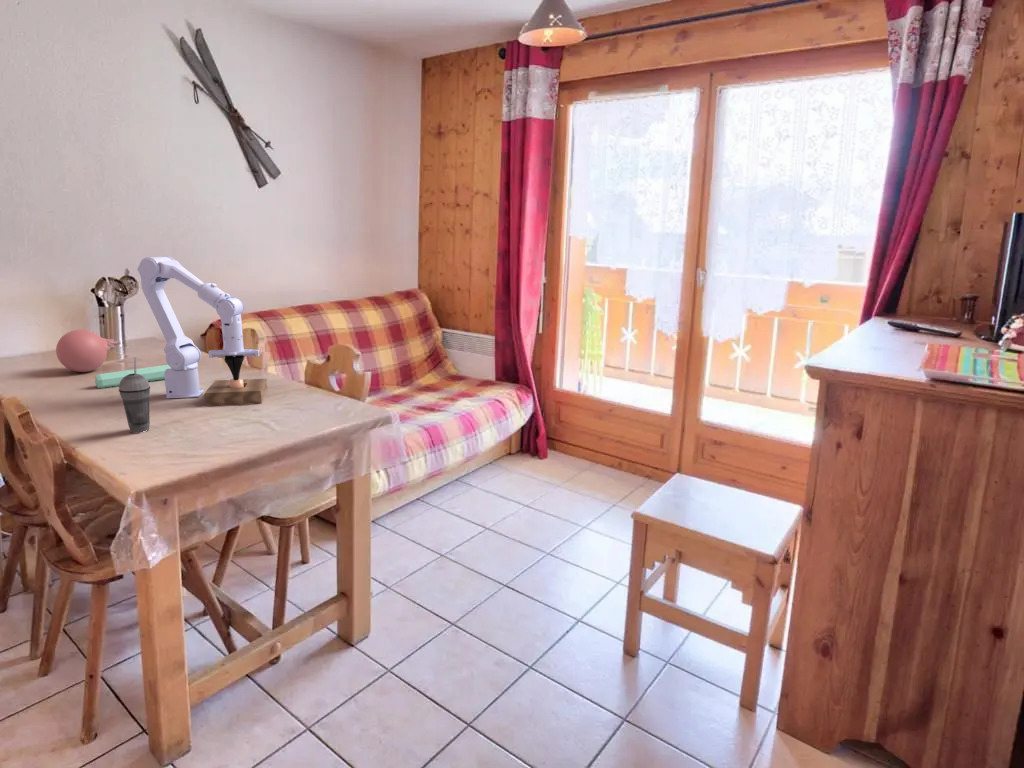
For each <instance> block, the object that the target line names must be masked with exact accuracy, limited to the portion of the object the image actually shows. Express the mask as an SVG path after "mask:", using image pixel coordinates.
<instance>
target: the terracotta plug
mask: <svg viewBox="0 0 1024 768" xmlns="http://www.w3.org/2000/svg"><path fill="white" fill-rule="evenodd" d="M243 379H244V378H242V377H241V378H240V377H239V379H238V380H234V379H233V378H231V379H229V380H230V388H239V387H244V383H243Z"/></svg>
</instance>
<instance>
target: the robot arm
mask: <svg viewBox="0 0 1024 768" xmlns="http://www.w3.org/2000/svg"><path fill="white" fill-rule="evenodd" d="M136 270H137V272H138V274H139V276H140V282H141V284H140V285H141V290H142V293H143V294H144V297H145V299H146V301H147V303H148V305H149V307H150V309H151V312H152V314H153V315H154V317H155V319H156V322H157V324H158V326H159V328H160V330H161V333H162V335H163V336H164V340H165V342H166V343H165V346H164V348H163V351H164V353H165V360H166V365H169V366H170V367H171V369H166V370H165V379H164V385H165V392H166V396H165V398H166V399H182V398H183V399H184V398H187V399H188V398H199V397H200V396H201V395H202V394H203V392H204V391H205V390H204V389H201V388H200V378H199V369H198V367H199V362H200V361H201V359H202V352H201V350H200V349H199V347H197V345H195V343H194V342H193V340H192V339H191V338H190V337H188V336H186V335H185V333H184V331H183V329H182V327H181V325H180V322H179V319H178V318H177V316H176V314H175V312H174V309H173V306H172V304H171V303H170V301H169V299H168V296H167V294H166V292H165V290H164V288H165V286H166V285H167V283H168V281H170V279H175V280H176V281H179V282H180V283H182V284H183V285H185V286H187V287H188V288H190V289H192V290H193V291H195V292H196V293H197V297H198V298H199V299H200V300H201V301H203V302H205V303H206V304H208V305H209V306H211V307H212V308H214V309H215V311H216V313H217V315H218V316H219V317H220V322H221V332H222V342H223V349H217V350H214V349H213V350H209V351H208V358H209V359H211V358H212V359H213V358H224V363H226V365H227V366H228V368H229V371H230V372H231V375H232V377H233V378H232V379H234V380H238V379H239V378H240V374H241V368H242V366H243V362H244V360H245V358H246V357H260V349H255V348H254V349H253V348H251V349H248V348H247V349H246V348H244V337H243V336H244V334H243V325H242V324H243V323H242V321H243V320H242V313H243V312H244V311H245V305H244V302H243V300H241V299H240V298H239V297H238V296H231V294H229V293H228V292H224V291H223V290H222V289H220V288H219V287H218V285H217V284H216V283H214V282H213V283H211V282H206V283H205V282H204V281H202V279H201V280H200V279H199V277H196V275H195V274H193V273H191V272H190V270H187V268H185V267H184V266H182V265H181V263H180V262H179V261H178V260H176V259H174V258H173V257H171V256H169V255H163V256H154V257H151V256H150V257H148V256H147V257H144V258H142V259H141V260H140V261H139V264H138V267H137V269H136Z"/></svg>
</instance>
